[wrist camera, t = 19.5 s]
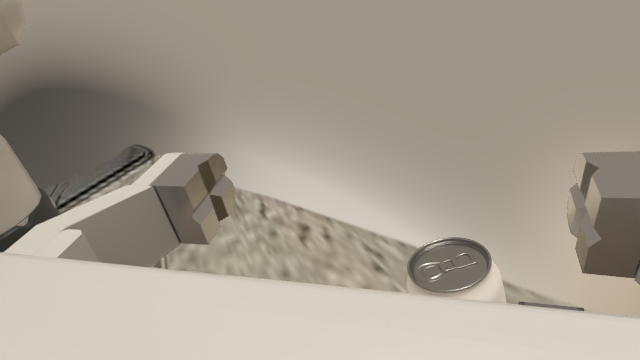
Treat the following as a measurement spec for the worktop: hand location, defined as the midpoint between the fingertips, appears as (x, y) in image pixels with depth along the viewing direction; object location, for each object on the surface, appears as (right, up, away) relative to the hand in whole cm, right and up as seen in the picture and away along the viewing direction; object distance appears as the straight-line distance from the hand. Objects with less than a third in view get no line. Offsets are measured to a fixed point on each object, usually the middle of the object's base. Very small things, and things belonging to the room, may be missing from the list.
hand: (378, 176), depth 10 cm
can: (+11, -16, +24) cm, 31 cm away
